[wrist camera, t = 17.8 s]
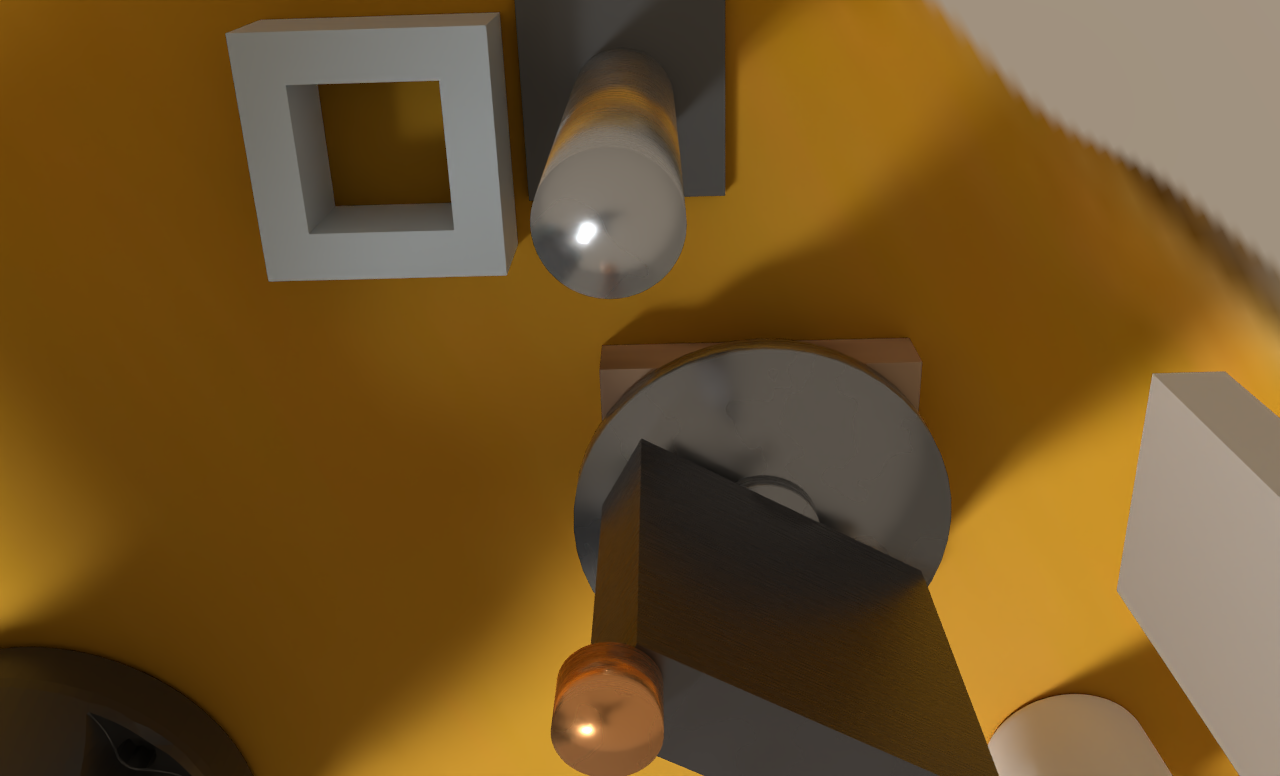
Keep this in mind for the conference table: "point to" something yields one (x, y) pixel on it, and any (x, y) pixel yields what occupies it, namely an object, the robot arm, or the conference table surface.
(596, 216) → the rod
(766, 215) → the conference table surface
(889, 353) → the plinth
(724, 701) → the lever on round base
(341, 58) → the eye block
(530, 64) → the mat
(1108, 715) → the mug
